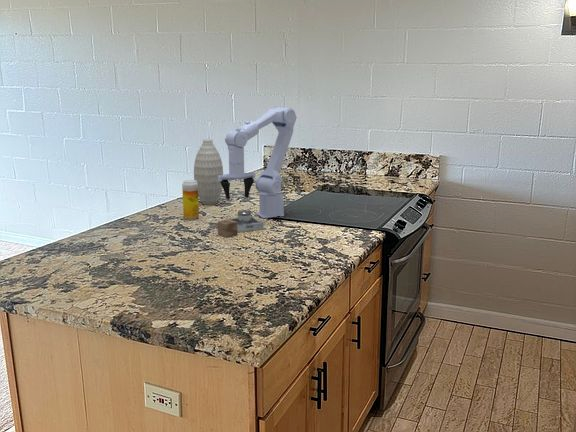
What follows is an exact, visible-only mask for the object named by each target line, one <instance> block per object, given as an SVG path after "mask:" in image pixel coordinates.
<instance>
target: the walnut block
mask: <svg viewBox="0 0 576 432" xmlns="http://www.w3.org/2000/svg"><path fill="white" fill-rule="evenodd" d="M227 219H228V220H226V219H224V220H220V221H217V235H218V236H220V237H223V238H226V239H228V238H231V237H235V236H238V233H239V232H238V231H237V222H236V221H233V220H229V219H230V218H227Z"/></svg>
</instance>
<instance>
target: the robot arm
mask: <svg viewBox="0 0 576 432" xmlns="http://www.w3.org/2000/svg"><path fill="white" fill-rule="evenodd" d="M296 120H297V114H296V112H295V110H294V109H293V108H292V107H278V106H273V107H271V108H270V109H268V110H267V112H265V113H264V114H263V115H262V116H260V117H259V118H257V119H256V120H255V121H251V120H247V121H245V122H244V123H245V124H243V125H241V126H240V127H237V128H236V129H235V130H230V131H228V132H227V134H226V136H225V138H224V142H225V144H226V146H227V150H228V173H226V174H223V175H219V176H218V181H220V183H221V185H222V190H223V191H224V195H225V198H226V200H228V201H229V200H230V199H231V198H230V197H231V196H230V194H231V193H230V186H231V182H229V181H236V180H243V187H244V197H245V198H247V199H248V198H249V195H250V191H251V190H252V189H251V188H252V186H253V184H254V182H255V189H256V191H257V192H258V194H259V212H255V214H256V215H257V216H259V217H260V218H262V219H270V218H278V217H277V216H280V217H285V214H284V213H285V211H284V207H285V204H284V203H285V201H284V196H283V193H280V192H281V190H282V182H283V177H282V175H281V174H280V172H281V169H282V166H283V164H284V160H285V157H286V155H287V152H288V149H289V146H290V143H291V140H292V137H293V135H294V134H293V133H294V126H295V123H296ZM270 124H272V125H273V126H274V127H275V129H276V130H277V132H278V134H277V136H276V139H275V143H274V145H273V149H272V152H271V154H270V157H269V160H268V163H267V167H266V168H265V169H264V170H262V171H261V172H260V174H259V176H258V178H256V173H255V172H245V148H244V147H245V146H246V145H247V144H248V141H249V140H251V139H252V138H254V137H255V136H257V135H258V134H259V131H260V130H262V128H264V127H266V126H268V125H270ZM254 179H256V180H254Z"/></svg>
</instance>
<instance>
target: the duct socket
mask: <svg viewBox="0 0 576 432" xmlns="http://www.w3.org/2000/svg"><path fill="white" fill-rule="evenodd" d="M228 219H229V220H233V221H236V222H237V231H238V233H245V232H253V231H261V230H264V221H261V219H258V218H257V217H255V216H253V215H251V224H243V225H238V217H234V218H233V217H231V218H226V219H225V220H228Z"/></svg>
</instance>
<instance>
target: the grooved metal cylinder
mask: <svg viewBox="0 0 576 432" xmlns="http://www.w3.org/2000/svg"><path fill="white" fill-rule="evenodd" d="M251 216H252V211H251V210H247V209H241V210H238V211H237V218H238V225H243V224H252V223H251Z"/></svg>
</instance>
